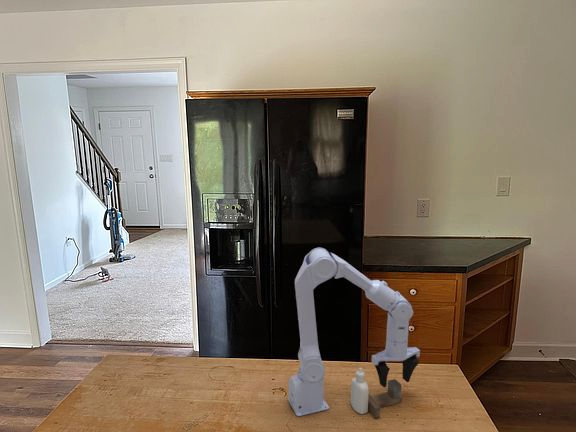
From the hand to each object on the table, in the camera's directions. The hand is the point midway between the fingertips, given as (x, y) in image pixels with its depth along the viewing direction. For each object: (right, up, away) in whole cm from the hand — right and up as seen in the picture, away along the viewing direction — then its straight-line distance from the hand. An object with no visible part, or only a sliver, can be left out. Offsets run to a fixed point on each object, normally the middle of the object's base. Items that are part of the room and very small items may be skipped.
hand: (394, 382), depth 109 cm
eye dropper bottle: (-11, -6, -3) cm, 12 cm away
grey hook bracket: (-4, -5, 0) cm, 6 cm away
